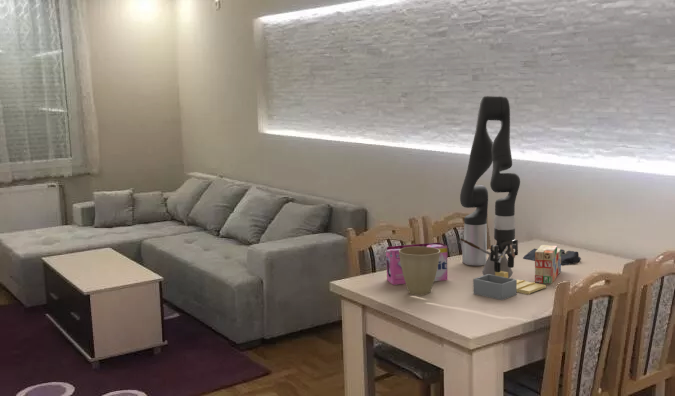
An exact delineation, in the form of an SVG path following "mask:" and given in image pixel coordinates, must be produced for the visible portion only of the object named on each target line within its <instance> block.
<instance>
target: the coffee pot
mask: <svg viewBox="0 0 675 396" xmlns="http://www.w3.org/2000/svg"><path fill="white" fill-rule="evenodd" d="M463 241H464V243H467V244H468V245H470V246H472V247H474V248H476V249H479V250H481V251H483V252H485V253H486V254H487V255H488V258H487V261H486V264H485V265H483V269H482V271H481V272H482V273H481V274H482V276H484V275H487V274H490V275H495V271H494V261H491V260H490V254H491V245H490V246H488V248H489V250H490V251H488V250H487V251H486V250H483V249H481V248H480V247H478V246H476V245H475V244H473V243H471V242H468V241H467V240H464V238H460V239H459V240H458V244H460V243H461V242H463ZM498 254H499V252H498ZM494 256H495V255H493V258H494ZM498 258H499V257H498ZM500 262H501V271H505V272H508V278H511V276H513V273H514V271H513V270H512V268H510V267H508V257H507V256H506V254H505V255H504V257H503V258H502V259H501V261H500Z"/></svg>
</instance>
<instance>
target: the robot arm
mask: <svg viewBox="0 0 675 396" xmlns="http://www.w3.org/2000/svg"><path fill="white" fill-rule="evenodd" d="M488 121H495V122H496V121H497V122H499V121H500V129H499V131H498V133H497V134H496V136H495V138H494V140H493V139H492V138H491V136H490V134H489V131H488V128H487V123H488ZM510 138H511V104H510V101H509V99H508V97H506V96H502V95H501V96H500V95H499V96H497V95H485V96H482V97H481V98H480V100H479V105H478V111H477V119H476V124H475V132H474V137H473V139H472V140H473V141H472V144H471V148H470V149H471V150H470V152H469V153H470V154H469V159H468V164H467V168H466V169H467V170H466V174H465V177H464V180H463V183H462V186H461V189H460V193H459V200H460V205H461V207H463V208H464V209H465V208H467V209H468V208H469V209H472V208H474V209H475V210H474V211H472V212H471V213H469V214H467V215H465V216H464V217H463V218H464V219H463V223H464V230H463V232H464V233H463V234H464V237H463V239H464V240H467V241H468V242H471V243H473V244H475V245H476V246H478V247H480V248H481V249H483V250H486V251H488V250H487V249H488V248H487V242H488V241H487V233H488V231H487V226H488V224H487V219H488V213H489V212H488V210H489V209H488V208H489V207H488V206H489V191H488V188H487V187H486V186H485V185H483V184H477V182H478V180H479V179H480V178H482V176H483V175H484V174H485V173H486V172H487V171H488V170H489V168H490V167H491V165H492V172H491V176H490V182H489V183H490V184H489V185H490V189H491V190H492V191H493V192H494V193H496V194H498V193H507V195H506V196H504V197H502V198H501V197H500V198H498V199H496V200H495V202H494V203H495V204H494V221H493V223H494V224H493V238H494V240H495V241H496V244H491V245H490V246H491V251H490V252H491V254H490V260H491V261H494V271H495V272H500V271H501V262H500V261H501V259H502V258H503V257H504V255H505V256H506V255H507V260H508V267H510V268H511V269H513V268H515V258H516V256H518V255H519V241H518V239H516V217H515V216H516V215H515V214H516V213H515V209H516V208H515V207H516V206H515V205H516V200H517V195H518V193H519V189H520V187H521V177H519V175H518V174H517V173H515V172H505V173H504V172H503V171H507V170H509V169H511V168H512V166H513V157H512V150H511V149H512V148H511V139H510ZM461 242H462V247H461V248H462V263H463V264H465V265H468V266H476V267H477V266H485V264H486V261H487V259H488V258H487V255H488V254H486V253H485V252H483V251H481V250H479V249H476V248H474V247H472V246H470V245H468V244H467V243H464V241H461ZM498 252H499V254H498ZM493 255H495V256H494V258H493ZM498 257H499V258H498Z"/></svg>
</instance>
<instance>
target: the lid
mask: <svg viewBox="0 0 675 396" xmlns="http://www.w3.org/2000/svg"><path fill="white" fill-rule="evenodd" d="M495 275H496V276H501V277H506V278H508V272H505V271H500V272H495ZM515 279H516V278H515ZM516 280H517V290H516V293H519V294H520V293H521V294H525V295H531V294H532V293H535V292H537V291H540V290H542V289H546V288H547V286H546V284H543V283H535V281H533V282H531V281H528V280H527V281H526V280H525V279H523V280H522V279H518V278H517V279H516Z"/></svg>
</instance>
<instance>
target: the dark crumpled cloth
mask: <svg viewBox="0 0 675 396" xmlns="http://www.w3.org/2000/svg"><path fill="white" fill-rule="evenodd" d="M537 249H538V248H533V249H531V250H530V251H528V252H527V253H526V254H525V255H524V256H523V257H522V259H523V260H527V261H533V262H535V251H536V250H537ZM560 249H561V266H569V265H572V264H576V263H578V262H579V261H580V260H582V258H581V257H580V255H579V252H578V251H574V250H567V251H566V252H565V250H564V249H563V248H560Z"/></svg>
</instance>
